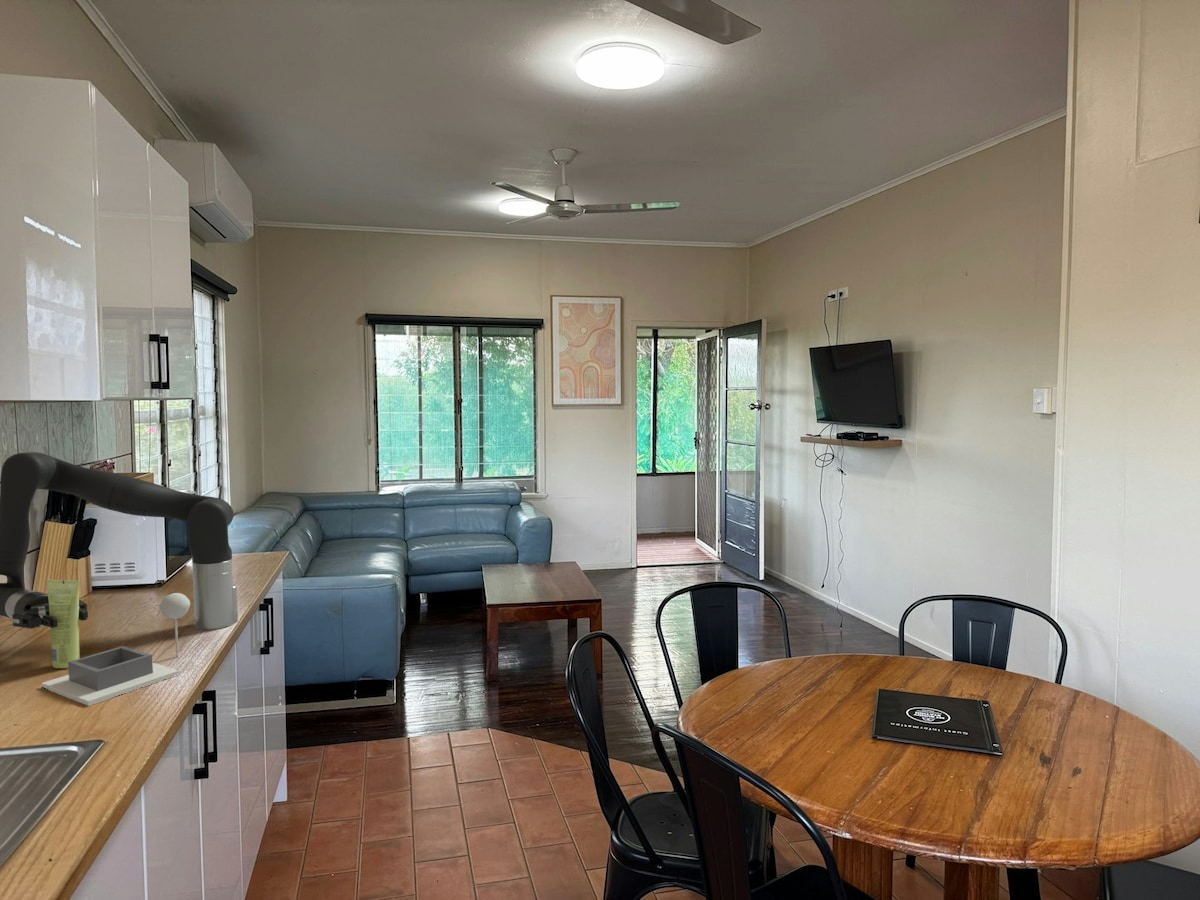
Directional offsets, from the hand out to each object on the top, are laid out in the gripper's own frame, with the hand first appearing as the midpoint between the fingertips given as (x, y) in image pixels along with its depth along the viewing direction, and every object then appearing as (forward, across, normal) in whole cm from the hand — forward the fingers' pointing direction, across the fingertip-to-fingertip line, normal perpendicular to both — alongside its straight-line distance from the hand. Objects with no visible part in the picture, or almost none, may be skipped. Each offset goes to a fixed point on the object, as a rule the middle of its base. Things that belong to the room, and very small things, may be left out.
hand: (70, 619), depth 164 cm
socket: (+15, 0, +11) cm, 19 cm away
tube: (-3, 0, +11) cm, 11 cm away
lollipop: (+14, +15, +11) cm, 23 cm away
